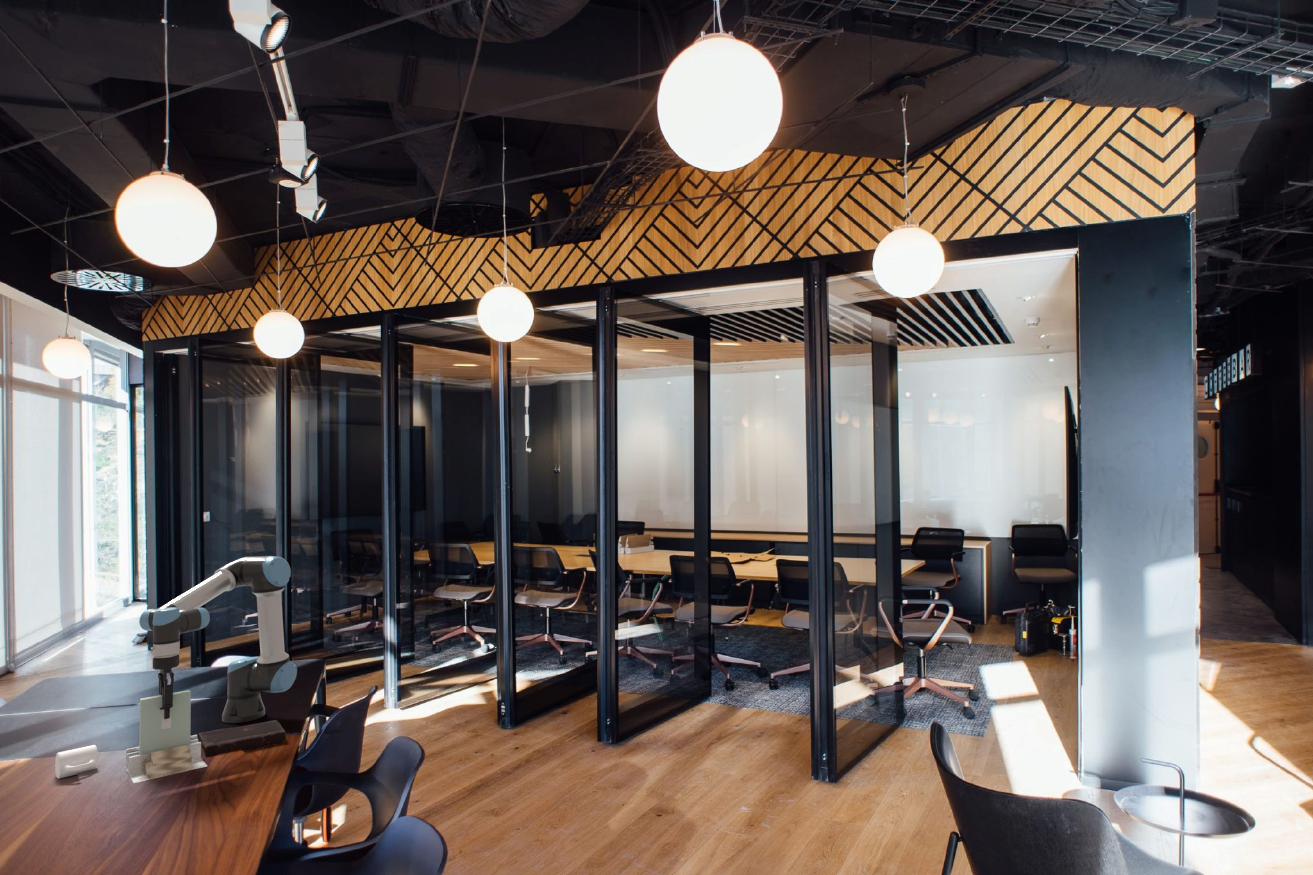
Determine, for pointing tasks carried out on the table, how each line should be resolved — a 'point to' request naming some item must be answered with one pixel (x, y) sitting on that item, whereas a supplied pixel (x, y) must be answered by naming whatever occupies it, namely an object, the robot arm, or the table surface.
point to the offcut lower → (167, 767)
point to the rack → (137, 762)
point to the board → (150, 723)
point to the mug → (76, 761)
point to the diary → (243, 737)
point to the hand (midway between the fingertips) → (165, 727)
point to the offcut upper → (170, 755)
